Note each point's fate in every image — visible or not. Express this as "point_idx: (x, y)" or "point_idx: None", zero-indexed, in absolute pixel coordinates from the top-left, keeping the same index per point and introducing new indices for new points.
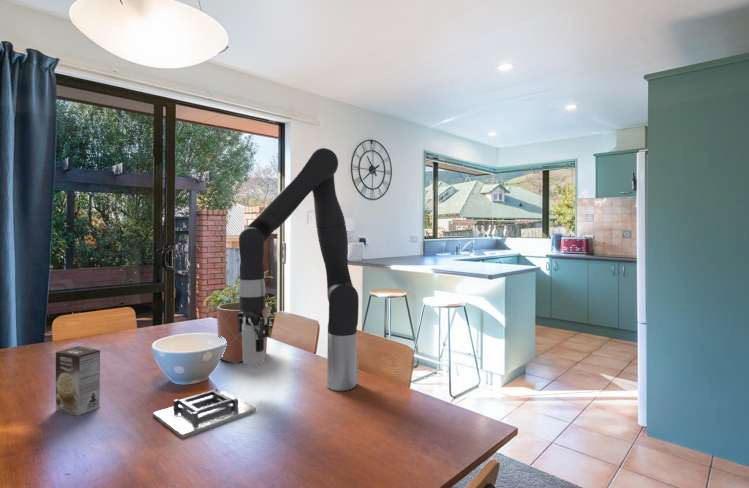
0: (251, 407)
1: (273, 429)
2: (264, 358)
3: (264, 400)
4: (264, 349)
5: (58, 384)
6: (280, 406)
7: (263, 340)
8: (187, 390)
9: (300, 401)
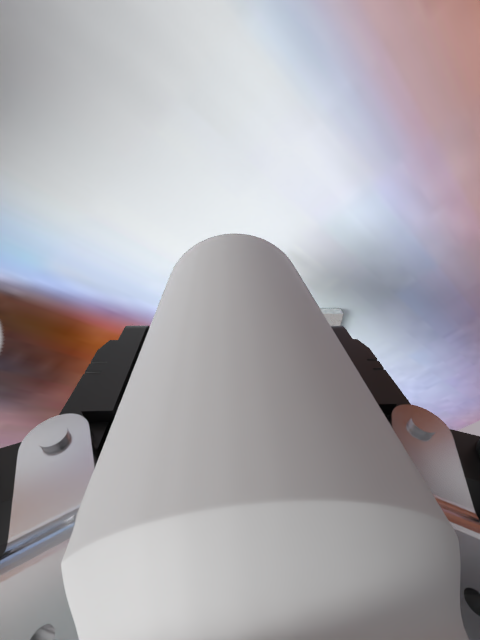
0: (330, 320)
1: (439, 330)
2: (289, 260)
3: (302, 248)
4: (301, 283)
5: None
6: (381, 241)
7: (408, 403)
8: (54, 360)
9: (426, 160)
